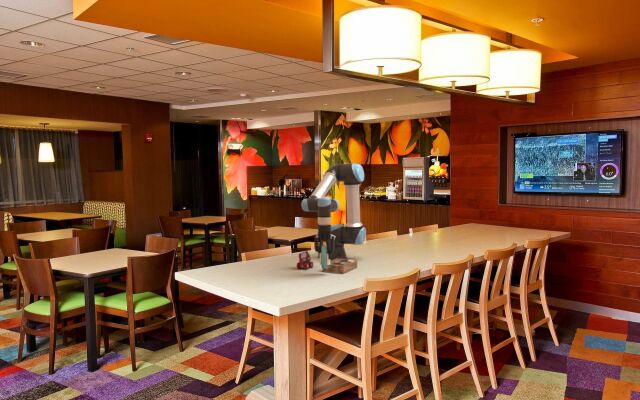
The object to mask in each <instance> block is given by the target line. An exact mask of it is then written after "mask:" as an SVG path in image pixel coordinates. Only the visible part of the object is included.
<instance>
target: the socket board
mask: <svg viewBox="0 0 640 400" xmlns="http://www.w3.org/2000/svg"><path fill="white" fill-rule="evenodd" d="M321 269H322V272H324V273H333V274H342V275H344V274H346V273H348V272H350V271H353V270H355V269H358V260H357V259H334V260H330V265H328V268H327V269H323V268H322V267H321Z"/></svg>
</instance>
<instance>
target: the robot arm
mask: <svg viewBox="0 0 640 400" xmlns="http://www.w3.org/2000/svg"><path fill="white" fill-rule="evenodd" d="M363 181H365V172H364V168H363V166H362V165H361V164H359V163H338V164H335V165H332V166H330V167H329V168H328V169H326V171H325V172H324V173H323V174H322V179H321V180H320V181H319V183H318V185H317V186H316V188H315V189H314V190H313V192H312V193H311V195H310V196H309V198H303V200H301V209H302V211H304V212H313V213H314V212H315V213H316V212H317V224H318V225H317V233H315V234H313V238H314V250H315V252H317V255H318V259H319V265H321V246H322V245H324V242H325V245H327V250H328V253H327V265H330V261H332V260H334V259H347V253H346V250H345V245H353V246H354V245H355V246H358V245H360V246H361V245H363V244H364V242H365V240H366V236H367V230H366V227H364V226H363V225H364V224H363V223H362V222H361V205H360V203H361V201H360V187H361V185H362V183H363ZM337 182H341V183H342V182H343V186H344V187H345V193H346V214H347V215H346V216H347V217H346V219H347V222H346V223H345V224H332V217H331V216H332V213H335V212H336V211H338V210H339V208H340V202H339V201H338V199H335V198H330V197H328V196H327V193H328V192H329V191H330V189H331V188H332V186H333V185H335V184H336V183H337ZM347 260H348V259H347Z"/></svg>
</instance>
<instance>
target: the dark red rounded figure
mask: <svg viewBox="0 0 640 400" xmlns="http://www.w3.org/2000/svg"><path fill="white" fill-rule="evenodd" d="M298 258H299V261H297V262H296V268H297V269H298V270H301V268H302V269H304V270H306V271H307V270H309V269H312V268H313V267H314V262H313V261H312V259H311V256H310V253H309V251H308V250H305V251H302V252H300V253H298Z"/></svg>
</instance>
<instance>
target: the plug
mask: <svg viewBox="0 0 640 400" xmlns="http://www.w3.org/2000/svg"><path fill="white" fill-rule="evenodd" d="M327 253H328V250H327V245H326V244H323V245H322V246H321V264H320V265H321V269H322V268H323V269H327V268H328V265H327Z"/></svg>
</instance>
